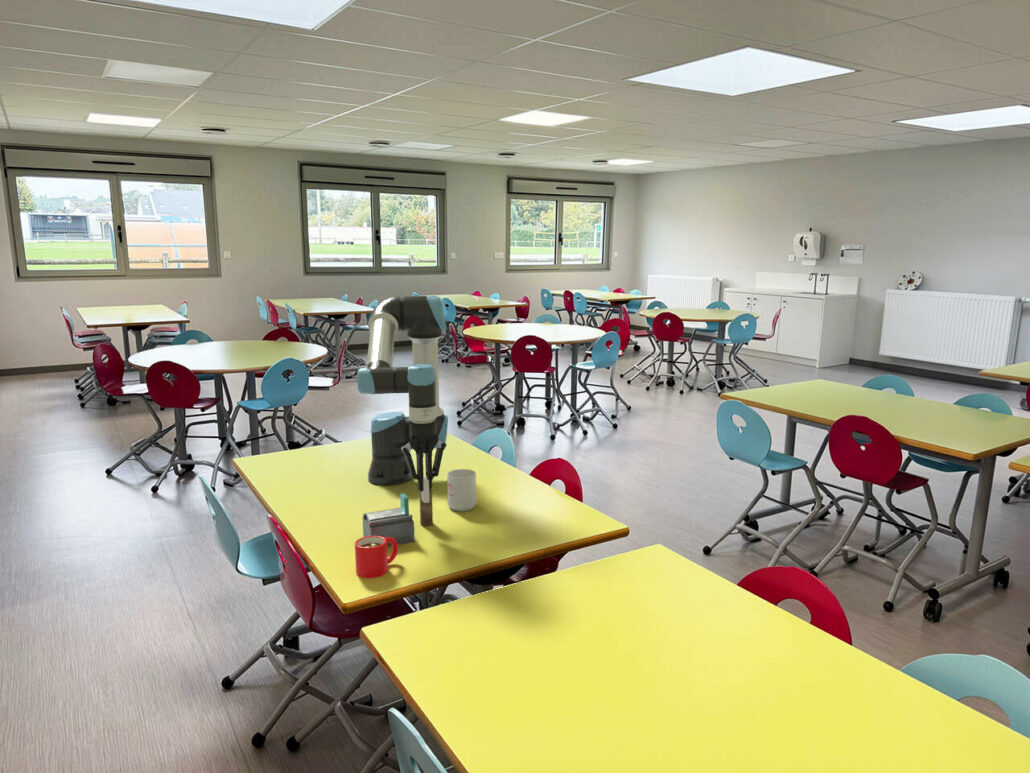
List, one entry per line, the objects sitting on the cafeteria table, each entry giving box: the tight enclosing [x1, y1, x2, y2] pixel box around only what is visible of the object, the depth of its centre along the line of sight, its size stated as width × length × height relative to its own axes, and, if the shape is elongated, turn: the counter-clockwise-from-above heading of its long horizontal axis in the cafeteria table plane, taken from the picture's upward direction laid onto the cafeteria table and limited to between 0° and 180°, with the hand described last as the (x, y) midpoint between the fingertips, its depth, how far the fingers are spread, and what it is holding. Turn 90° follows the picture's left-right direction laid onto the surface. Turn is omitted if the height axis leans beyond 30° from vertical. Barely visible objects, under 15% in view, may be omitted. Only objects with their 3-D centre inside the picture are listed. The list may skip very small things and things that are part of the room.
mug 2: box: [446, 468, 477, 512], centre depth 220 cm, size 12×9×11 cm
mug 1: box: [354, 536, 399, 579], centre depth 177 cm, size 8×12×8 cm, turn 138°
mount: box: [361, 507, 415, 548], centre depth 195 cm, size 10×12×7 cm
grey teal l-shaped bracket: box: [366, 493, 410, 522], centre depth 194 cm, size 5×11×6 cm, turn 115°
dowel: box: [419, 489, 434, 527], centre depth 205 cm, size 4×4×12 cm
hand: (425, 501), depth 199 cm, fingers closed
